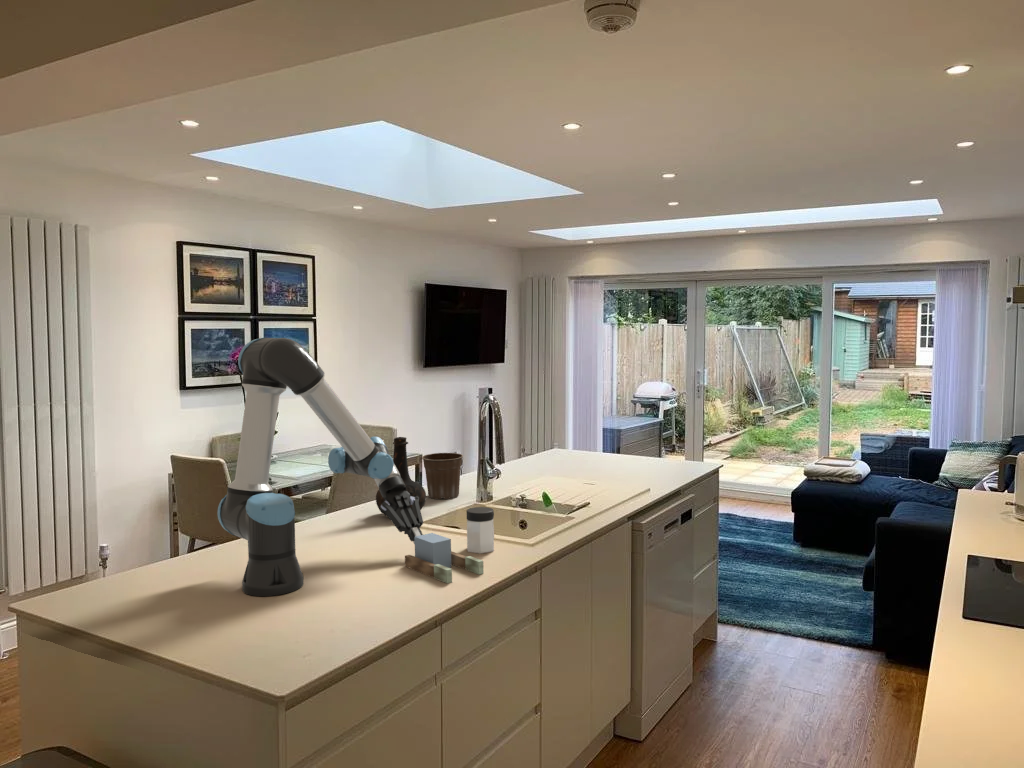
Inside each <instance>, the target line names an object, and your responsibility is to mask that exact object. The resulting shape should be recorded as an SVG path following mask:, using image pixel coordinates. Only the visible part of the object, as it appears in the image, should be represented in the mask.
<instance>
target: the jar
mask: <svg viewBox="0 0 1024 768" xmlns="http://www.w3.org/2000/svg"><path fill="white" fill-rule="evenodd" d="M494 512H495V509H494V508H491V507H487V506H476V507H469V508H467V509H466V541H467V542H466V547H467V548H466V549H467V550H466V551H467V552H468V553H474V554H480V555H481V554H486V553H491V552H494V551H495V547H494V546H495V543H494V542H495V526H494V516H495V513H494Z"/></svg>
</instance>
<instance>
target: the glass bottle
mask: <svg viewBox="0 0 1024 768" xmlns="http://www.w3.org/2000/svg"><path fill="white" fill-rule="evenodd" d="M392 444H393V455H392V456H393V457H392V459H393V462H394V464H395V466H396V468H397V470H398V471H399V473H400V477H401V478H402V480H403V482H404V484H405V486H406V490H407V492H408V493H409V494H410V496H412V497H416V496H418V497H419V507H420V511H422V509H424V506H425V504H426V501H427V494H426V493H427V492H426V490H425V488H424V487H423V486H422V484H420V483H419V482H417V481H414V480H412V479H411V477H410V473H409V467H408V456H407V455H408V454H407V445H409V442H408V441H407V437H404V436H398V437H394V438H393V442H392ZM383 502H384V498H383V497H382V495H381V493H380V491H379V489H378V490H377V491H376V495H375V503H376V506H377V508H378V510H379V511H380V513H382V514H383V516H386V517H388V516H387V515H386V513H384V512H383V511H382V510H380V506H381V505H382V503H383ZM409 503H410V507H411V510H412V505H411V502H410V501H409ZM412 512H413V510H412Z"/></svg>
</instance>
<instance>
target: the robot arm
mask: <svg viewBox="0 0 1024 768" xmlns="http://www.w3.org/2000/svg"><path fill="white" fill-rule="evenodd" d="M237 362H238V363H237V364H238V368H239V370H240V372H241V373H242V379H241V380H242V381H241V386H242V387H243V389H245V391H246V394H245V404H244V410H243V418H242V423H241V424H242V425H241V431H240V438H239V446H238V454H237V463H236V470H235V477H234V480H232V482H230V483H229V484H228V485H227V491H226V494H225V495H224V497H223V498H221V500H220V502H219V504H218V507H217V520H218V521H219V524H220V526H221V528H223V529H224V531H227V533H229V534H230V535H232V536H235V537H237V538H240V539H241V538H242V539H243V540H246V541H247V551H248V552H247V553H248V554H247V555H248V560H247V563H246V567H245V571H244V575H243V578H242V580H241V585H242V586H241V587H242V588H241V589H242V592H243V593H244V594H246V595H249V596H255V597H273V596H279V595H284V594H289V593H292V592H295V591H297V590H299V589H300V588H302V587H303V586H304V584H305V583H304V580H305V579H304V574H303V571H302V570H301V569H302V568H301V566H300V563H299V561H298V558H297V554H296V526H295V525H296V524H295V522H296V520H295V516H296V510H295V505H294V500H293V499H292V498H291V497H290V496H289V495H286V494H283V493H275V492H273V491H274V490H273V487H272V486H271V484H269V476H270V470H271V461H272V456H273V455H272V454H273V447H274V439H275V431H276V424H277V418H278V417H277V416H278V410H279V402H280V396H281V395H282V394H283V393H284V392H285V391H287V388H289V390H290V391H292V393H293V394H294V395H295V396H300V397H301V398H302V399H303V400H304V402H305V403H306V404H307V405H308V407H310V409H311V410H312V411H313V412H314V414H315V415H316V416H317V417H318V419H319V420H320V421H321V423H322V424H323V425H324V426H325V427H326V429H327V430H328V431H329V432H330V433H331V435H332V436H333V437H334V438H335V440H336V441H337V442H338V443H339V445H340V447H335V448H332V449H331V450H330V451H329V453H328V456H327V457H328V459H327V464H328V467H329V470H330V471H331V472H332V473H334V474H345V473H348V474H354V475H358V476H364V477H367V478H371V479H373V480H374V482H375V485H376V486H377V488H378V490H379V491H380V493H381V495H382V497H383V498H384V502H383V503H382V505H381V506H380V510H382V511H383V512H384V513H386V515H387V516H386V515H385V516H386V517H388V519H389V520H390V522H392V524H393V525H394V527H395V528H396V529H397V531H398V532H399V533H402V532H403V534H404V535H407V536H408V538H409V540H410V542H412V543H413V544H414V545H415V537H416V536H420V535H424V534H423V532H422V530H421V529H420V528H421V527H422V526H423V524H424V519H423V516H422V510H420V507H419V497H418V496H416V497H412V496H410V494H409V493H408V492H407V490H406V486H405V484H404V482H403V480H402V478H401V477H400V473H399V471H398V470H397V468H396V466H395V464H394V462H393V457H392V455H391V453H390V452H389V449H388V446H387V445H386V444H385V442H384V441H383V439H382V438H381V437H379V436H371V437H370V436H369V434H367V432H366V430H364V429H363V427H362V426H361V424H360V423H359V422H358V421H357V420H356V418H355V417H354V415H353V414H352V413H351V411H350V410H349V409H348V408H347V406H346V405H345V404H344V403H343V401H342V400H341V398H340V397H339V396H338V395H337V394H336V392H335V391H334V390H333V388H332V386H331V385H330V384H329V383H328V381H327V380H326V379H325V371H324V370H323V368H321V367H322V366H320V365H319V363H318V362H317V361H316V359H314V357H313V356H312V355H311V354H310V353H309V351H308V350H306V349H305V348H304V347H303V346H302V345H301V344H299V343H298V342H297V341H295V340H293V339H291V338H290V339H289V338H286V337H278V338H277V337H259V338H256V339H253V340H251V341H249V342H247V343H246V344H244V346H243V347H242V348H241V349H240V352H239V355H238V358H237ZM409 501H410V502H411V505H412V510H413V512H412V510H411V507H410V503H409ZM380 510H379V511H380Z"/></svg>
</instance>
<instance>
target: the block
mask: <svg viewBox="0 0 1024 768" xmlns="http://www.w3.org/2000/svg"><path fill="white" fill-rule="evenodd" d="M451 551H452V539H451V538H449V537H446V536H443V535H439V534H436V533H433V532H430V533H426V534H423V535H420V536H416V537H415V544H414V557H417V558H420V559H422V560H425V561H427V562H430V563H433V564H435V565H436V564H440V565H443V566H445V567H448V568H450V569H451V568H452V564H451Z"/></svg>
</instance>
